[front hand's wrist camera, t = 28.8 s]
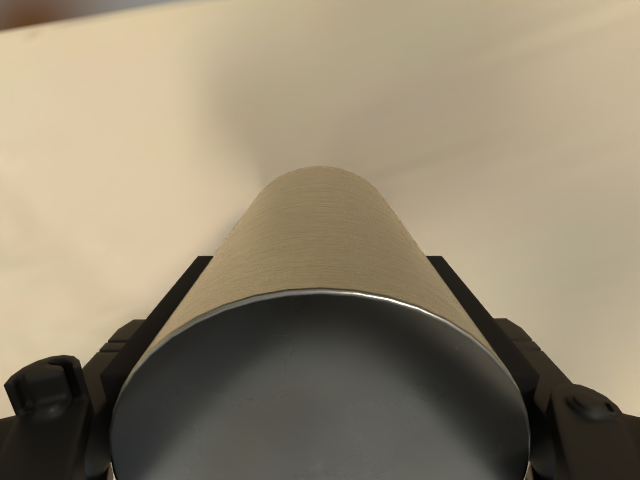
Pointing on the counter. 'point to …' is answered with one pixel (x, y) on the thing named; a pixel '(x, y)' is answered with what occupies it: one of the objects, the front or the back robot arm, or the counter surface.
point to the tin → (319, 357)
